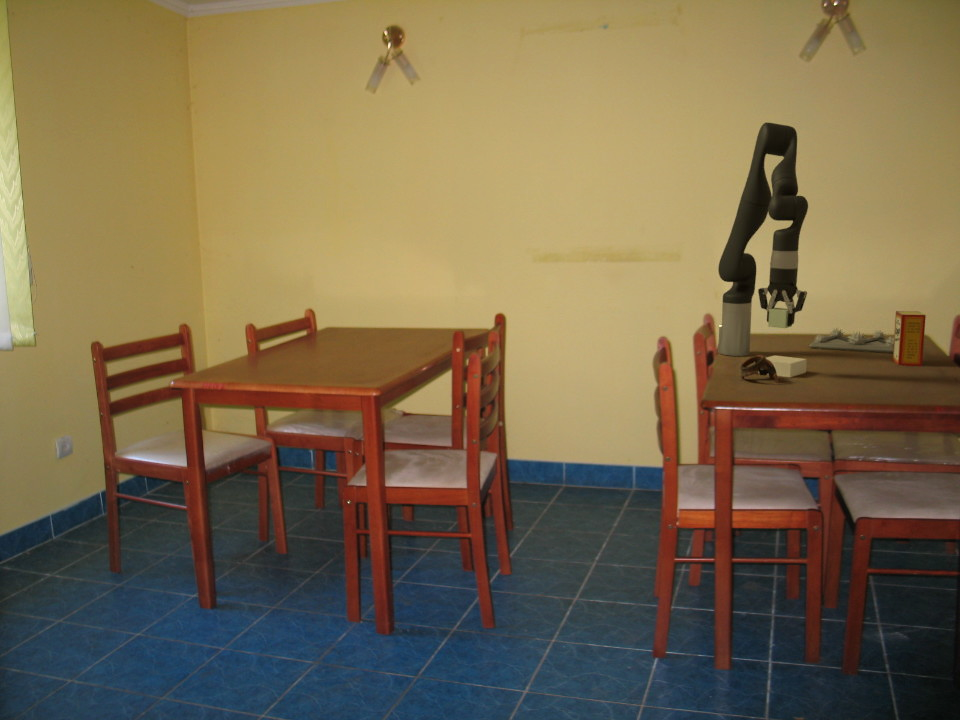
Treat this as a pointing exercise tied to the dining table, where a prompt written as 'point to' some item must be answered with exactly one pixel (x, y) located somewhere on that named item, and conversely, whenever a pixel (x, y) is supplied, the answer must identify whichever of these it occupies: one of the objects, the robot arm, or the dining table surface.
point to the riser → (788, 365)
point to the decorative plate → (854, 342)
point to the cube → (778, 318)
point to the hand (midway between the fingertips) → (780, 324)
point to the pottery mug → (758, 367)
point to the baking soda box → (909, 338)
